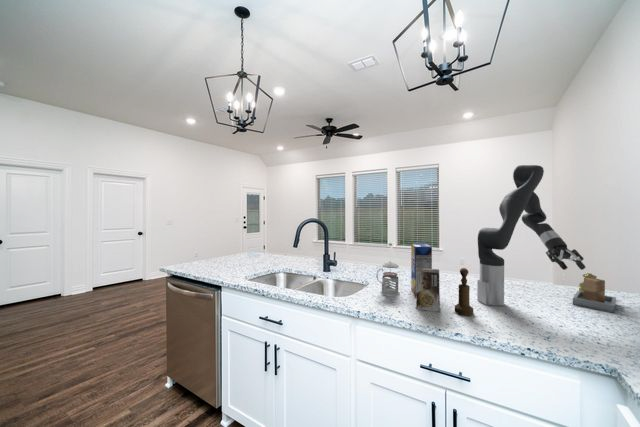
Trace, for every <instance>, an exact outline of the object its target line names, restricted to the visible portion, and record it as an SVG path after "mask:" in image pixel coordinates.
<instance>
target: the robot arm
mask: <svg viewBox="0 0 640 427" xmlns="http://www.w3.org/2000/svg"><path fill="white" fill-rule="evenodd" d="M544 174H545V170H544V167H543V166H542V165H535V164H529V165H528V164H523V165H522V164H521V165H517V166H516V167H515V168H514V170H513V173H512V177H513V178H512V179H513V182H514V184H515V187H516V188H515V189H513V190H512V191H509V192H508V193H507V194H506V195H505V196H504V197H503V199H502V200H501V202H500V204H499V213H500V216H501V219H502V223H501V225H500V226H499V228H495V227H482V228H481V229H480V230H479V231H478V235H477V252H478V254H477V255H478V256H477V257H478V258H479V278H478V279H477V280H476V281H477V285H476V286H477V289H476V290H477V291H476V292H477V294H476V295H477V296H476V297H477V299H476V300H477V301H478V302H480V303H482V304H484V305H487V306H493V307H495V306H496V307H502V306H504V305H505V259H504V258H503V257H502V256H500V255H497V254H496V253H495V252H494V251H493V250H497V251H498V250H499V251H502V250H505V249H506V248H507V247H508V245H509V244H510V242H511V239H512V236H513V234H514V231H515V228H516V226H517V224H518V222H519V219H520V218H521V221H522V223H523V224H524V225H525V226H526V227H527V228H530V229H531V230H532V231H533V232H534V233H535V234H536V235H537V236H538V238H539V239H540V241H541V243H542V244H543V245H544V247H546V249H547V251H546V252H545V254H546V256H547V257H548V258H549V260H550V262H551V263H556V264H558V266H559V267H560V269H562V270H563V271H564V270H565V271H566V270H567V269H568V268H569V267H568V266H567V264H566V263H565V262H564V261H563V260H568V261H570V262H571V261H572V262H573V263H575V265H576V266H577V267H578V268H579V270H584V269H586V265H585V264H584V263H583V260H584V259H585V258H584V257H583V256H582V255H581V254H580V253H579V251H578V250H576V249H575V248H574V249H572V250H570V249H569V248H568V245H567V243H566V242H565V241H564V239H563V238H562V237H561V236H560V235H559V234H558V233H557V232H556V231H555V230H554V229H553V227H552V226H551V225H550V224H549V223H546V220H547V215H546V213H545V212H544V210H543V209H542V207H541V202H540V200H541V199H540V198H539V196H538V195H537V193H535V192H534V191H535V190H536V189H537V187H538V185H539V184H540V183H541V181H542V180H543V177H544ZM523 212H525V213H524V214H523Z"/></svg>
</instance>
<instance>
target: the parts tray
mask: <svg viewBox="0 0 640 427" xmlns="http://www.w3.org/2000/svg"><path fill="white" fill-rule="evenodd" d="M616 305H617V298H616V296H611V295H605V303H601V302H596V301H590V300H585V299H584V292H581V291H579V290H577V291H576V292H575V294H574V296H573V297H572V306H577V307H582V308H587V309H593V310H597V311H603V312H608V313H613V314H615V310H616Z"/></svg>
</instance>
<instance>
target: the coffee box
mask: <svg viewBox="0 0 640 427" xmlns="http://www.w3.org/2000/svg"><path fill="white" fill-rule="evenodd" d="M415 298H416V301H415V302H416V305H415V306H416V309H418V310H423V311H424V310H425V311H432V312H440V311H441V310H440V309H441V308H440V307H441V305H440V300H441V295H440V269H439V268H438V269H436V268H432V269H426V268H417V270H416V297H415Z"/></svg>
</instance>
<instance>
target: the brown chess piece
mask: <svg viewBox="0 0 640 427" xmlns="http://www.w3.org/2000/svg"><path fill="white" fill-rule="evenodd" d="M459 274H460V276H461V279H460V281H461V283H459V284H458V303H457V304H456V305H454V313H456V314H457V315H460V316H466V317H468V316H469V317H472V316H474V308H473V306H471V305H470V304H471V303H470V290H471V289H470V288H471V287H470V285H469V284H467V283H468V279H467V276H468V275H469V270H468V269H467V267H466V268H465V267H461V268H460V270H459Z"/></svg>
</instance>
